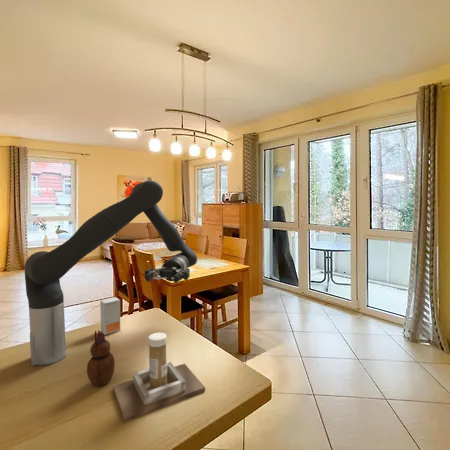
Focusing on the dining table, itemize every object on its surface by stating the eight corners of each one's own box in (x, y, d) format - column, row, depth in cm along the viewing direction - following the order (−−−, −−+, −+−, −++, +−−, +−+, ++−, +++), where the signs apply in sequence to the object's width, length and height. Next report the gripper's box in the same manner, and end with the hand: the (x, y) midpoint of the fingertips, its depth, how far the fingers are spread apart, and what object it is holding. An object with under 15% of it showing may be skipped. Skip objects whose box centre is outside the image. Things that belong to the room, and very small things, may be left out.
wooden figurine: (97, 392, 74) (94, 335, 73) (83, 385, 78) (81, 330, 76) (119, 379, 80) (117, 325, 79) (106, 372, 83) (104, 321, 82)
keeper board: (124, 421, 65) (124, 406, 64) (113, 389, 76) (112, 376, 75) (205, 391, 75) (204, 377, 75) (184, 366, 86) (184, 355, 86)
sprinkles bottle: (170, 387, 75) (169, 336, 74) (153, 394, 72) (151, 341, 71) (163, 378, 78) (162, 330, 77) (146, 384, 76) (145, 334, 75)
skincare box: (104, 335, 107) (103, 303, 106) (100, 331, 110) (99, 300, 109) (121, 330, 111) (120, 299, 110) (116, 326, 114) (115, 296, 113)
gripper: (155, 257, 106) (138, 266, 90) (194, 258, 105) (184, 267, 89) (155, 277, 107) (139, 290, 91) (193, 279, 106) (184, 291, 90)
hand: (161, 279), depth 90 cm, fingers open, 8 cm apart
